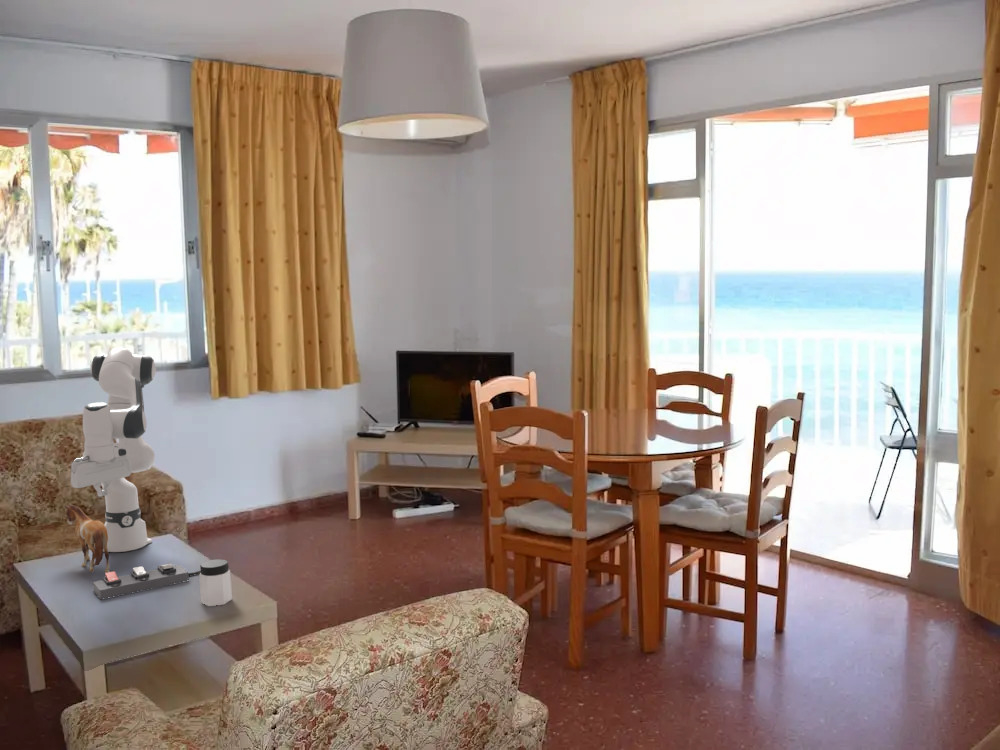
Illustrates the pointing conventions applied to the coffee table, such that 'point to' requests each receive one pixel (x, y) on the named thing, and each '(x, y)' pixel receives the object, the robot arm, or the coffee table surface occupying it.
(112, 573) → the red rocker
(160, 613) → the coffee table surface
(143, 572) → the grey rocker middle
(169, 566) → the grey rocker end
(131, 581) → the grey switch panel
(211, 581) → the jar
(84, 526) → the horse figurine
